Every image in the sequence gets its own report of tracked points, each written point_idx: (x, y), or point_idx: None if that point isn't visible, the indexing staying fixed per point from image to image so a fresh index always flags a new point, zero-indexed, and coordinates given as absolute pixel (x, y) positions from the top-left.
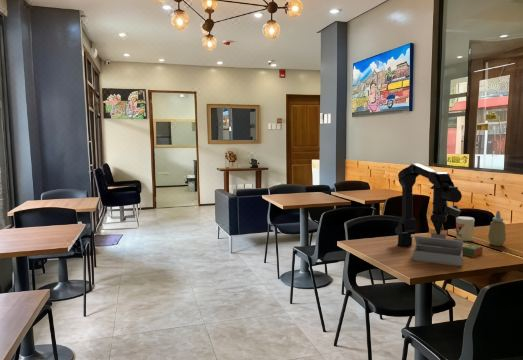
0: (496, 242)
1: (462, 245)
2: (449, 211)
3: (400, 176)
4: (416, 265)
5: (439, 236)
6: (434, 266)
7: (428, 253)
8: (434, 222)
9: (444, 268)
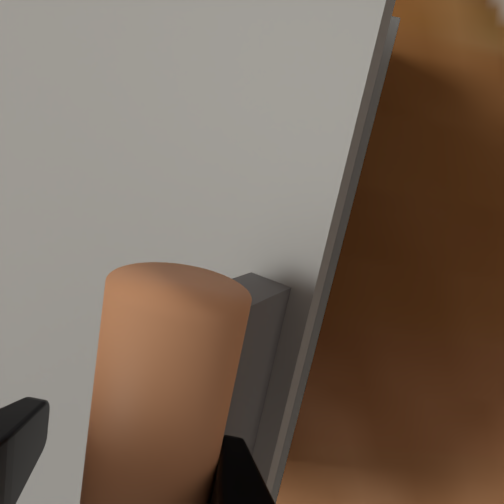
0: None
1: None
2: None
3: None
4: (413, 445)
5: (245, 411)
6: (415, 310)
7: (301, 395)
8: None
9: (463, 232)
